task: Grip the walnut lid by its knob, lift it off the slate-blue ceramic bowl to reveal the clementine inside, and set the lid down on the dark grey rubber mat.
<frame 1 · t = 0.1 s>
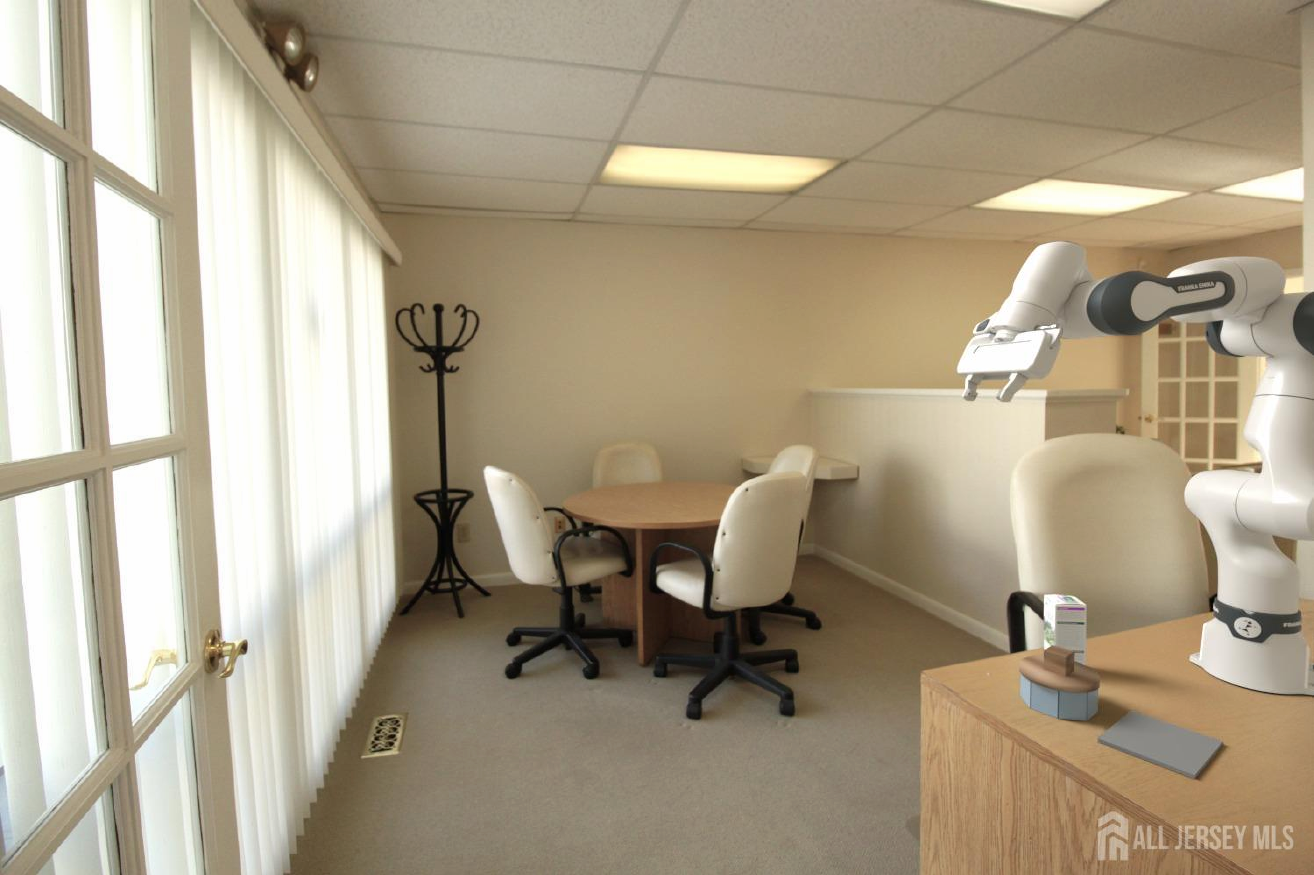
hand: (984, 400, 108), 54 cm above the table, tool tilted 30°, fingers open, 8 cm apart
mat: (1159, 743, 99), on the table
syrup box: (1063, 671, 124), on the table
bowl: (1057, 703, 111), on the table
lid: (1058, 676, 111), point 5 cm above the table, touching bowl
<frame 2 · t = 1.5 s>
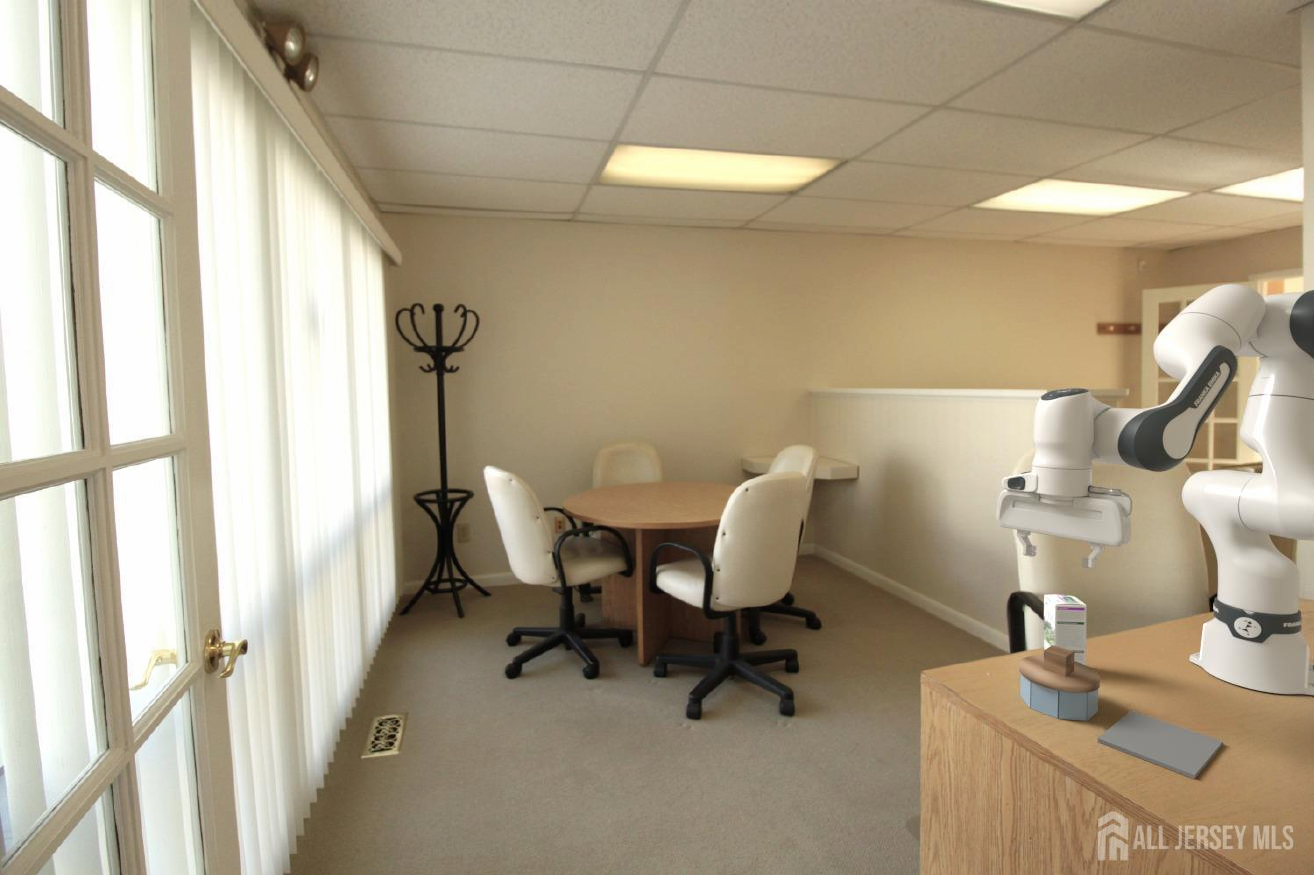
hand: (1058, 561, 109), 26 cm above the table, tool pointing down, fingers open, 8 cm apart
nothing on the table moved.
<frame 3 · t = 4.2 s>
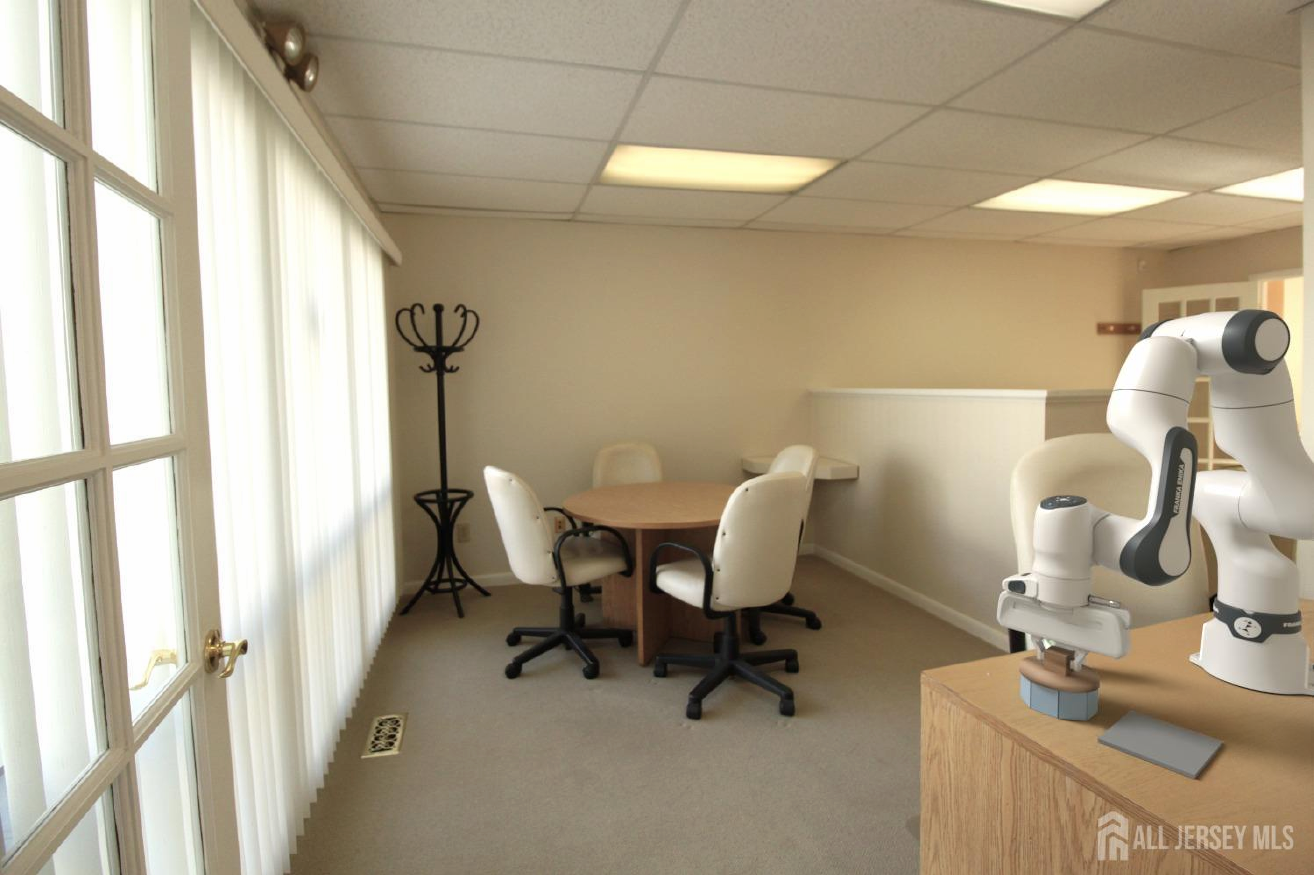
hand: (1058, 665, 111), 7 cm above the table, tool pointing down, fingers closed on lid, 3 cm apart
lid: (1058, 676, 111), point 5 cm above the table, touching bowl, gripper
everything else where it was.
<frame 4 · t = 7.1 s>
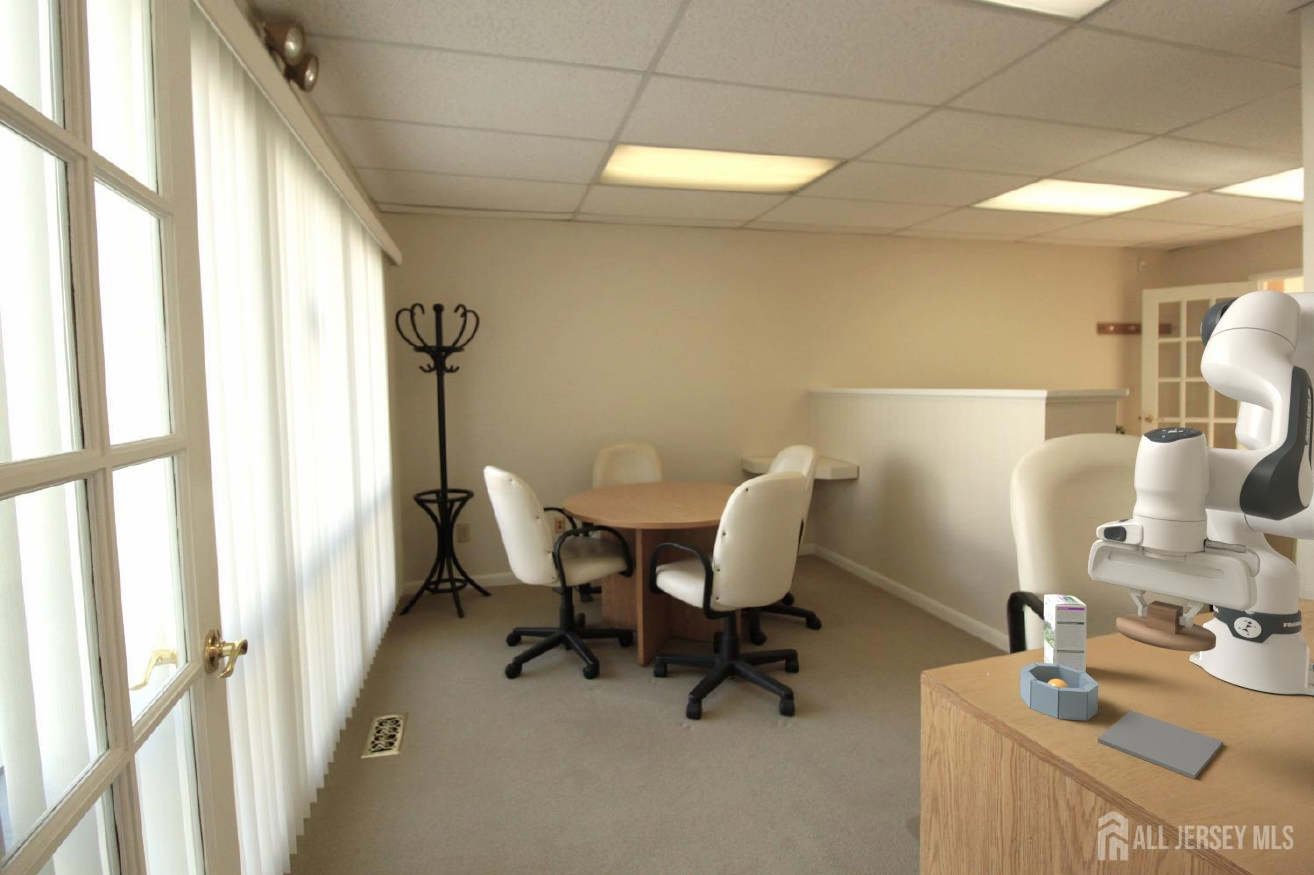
hand: (1164, 622, 97), 20 cm above the table, tool pointing down, fingers closed on lid, 3 cm apart
lid: (1164, 635, 97), point 18 cm above the table, touching gripper
everything else where it was.
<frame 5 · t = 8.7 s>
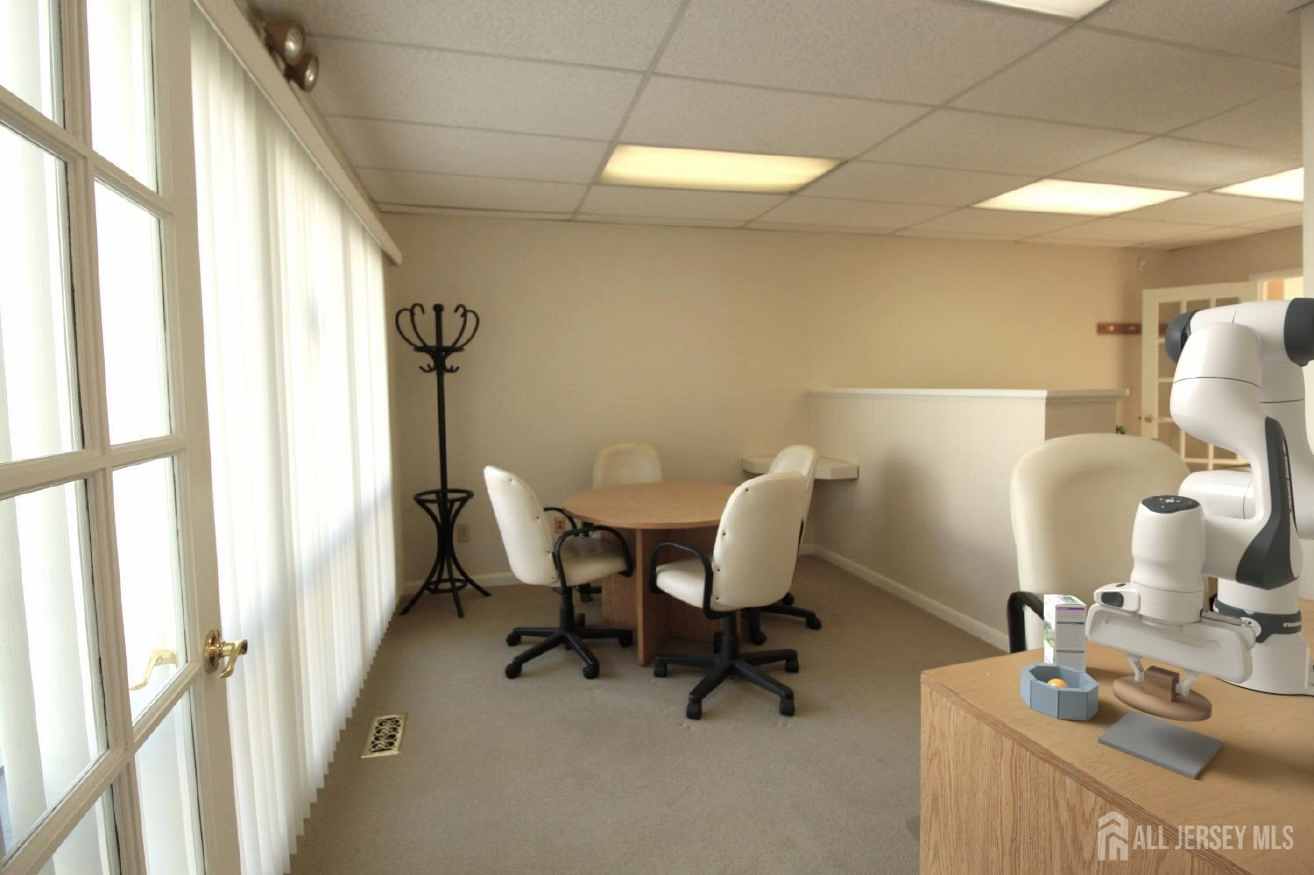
hand: (1161, 688, 98), 9 cm above the table, tool pointing down, fingers closed on lid, 3 cm apart
lid: (1160, 701, 98), point 7 cm above the table, touching gripper
everything else where it was.
when the fingers open (4 cm above the table, at t = 10.0 s): lid drops 2 cm, resting on mat.
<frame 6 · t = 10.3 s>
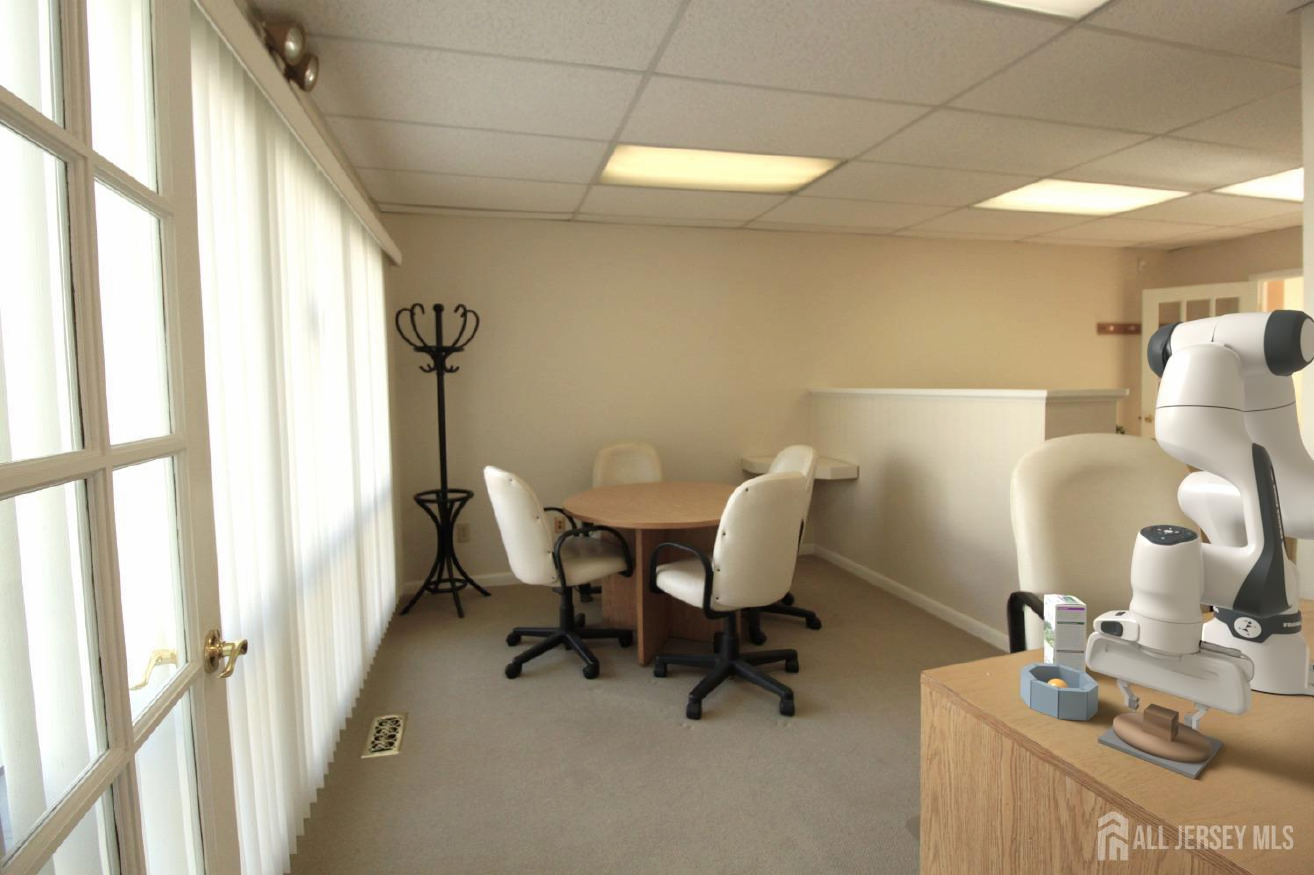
hand: (1160, 717, 98), 4 cm above the table, tool pointing down, fingers open, 6 cm apart
lid: (1160, 739, 99), point 1 cm above the table, touching mat
everything else where it was.
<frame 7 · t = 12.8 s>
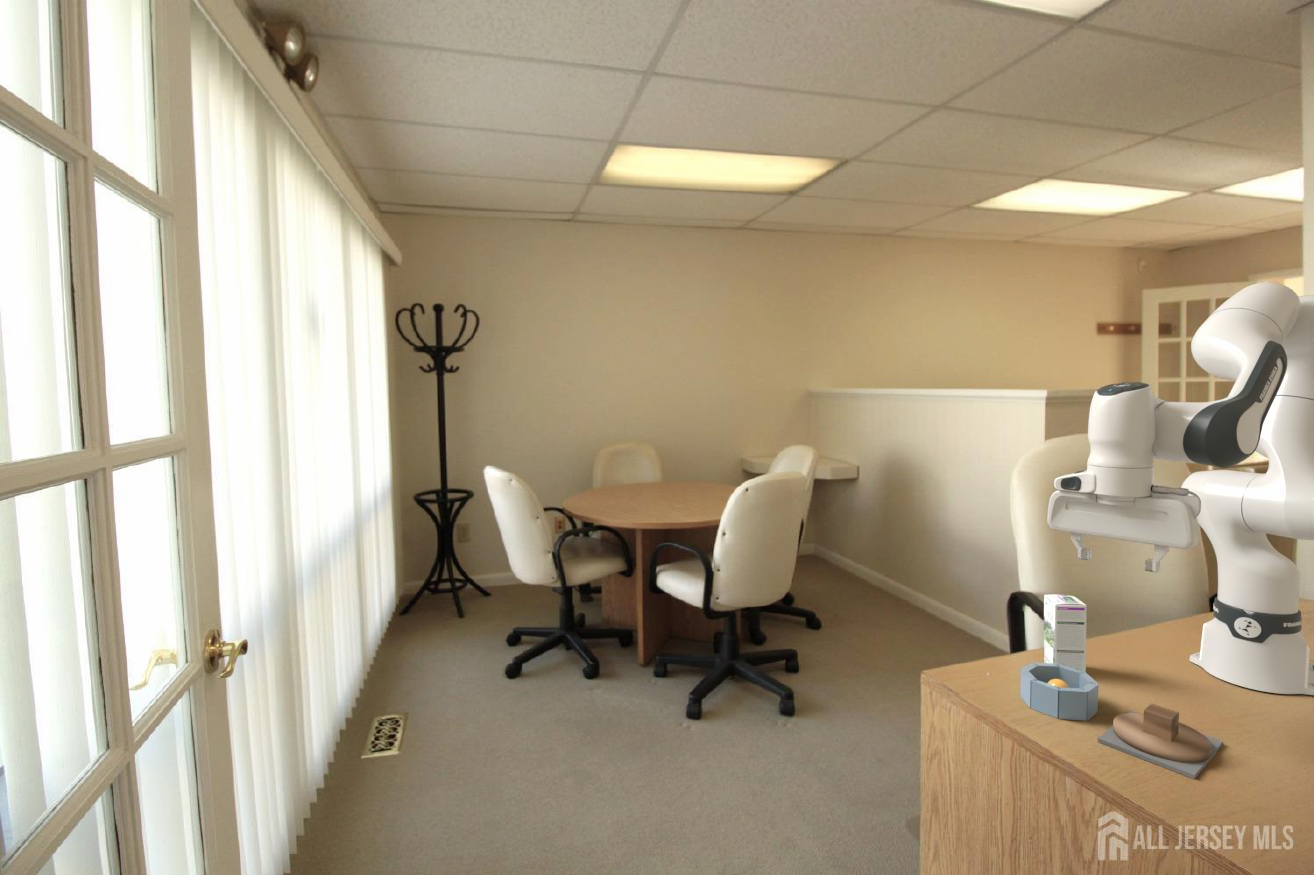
hand: (1117, 565, 104), 27 cm above the table, tool pointing down, fingers open, 8 cm apart
nothing on the table moved.
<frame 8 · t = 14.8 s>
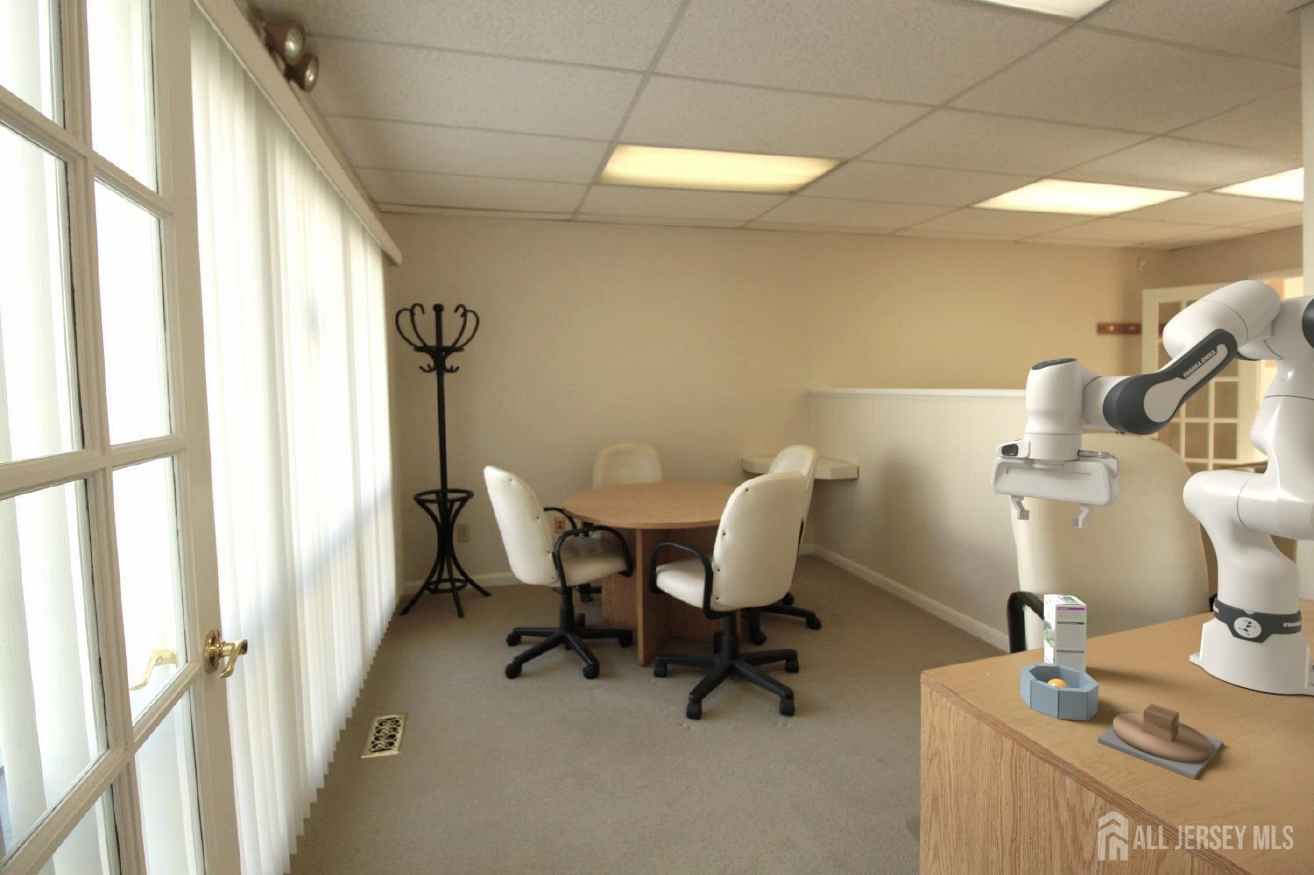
hand: (1050, 523, 115), 31 cm above the table, tool pointing down, fingers open, 8 cm apart
nothing on the table moved.
at the end: lid inside the target area on the mat (0.0 cm from its centre), point 0.6 cm above the mat's base; lid touching mat; lid tilted 0° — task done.
